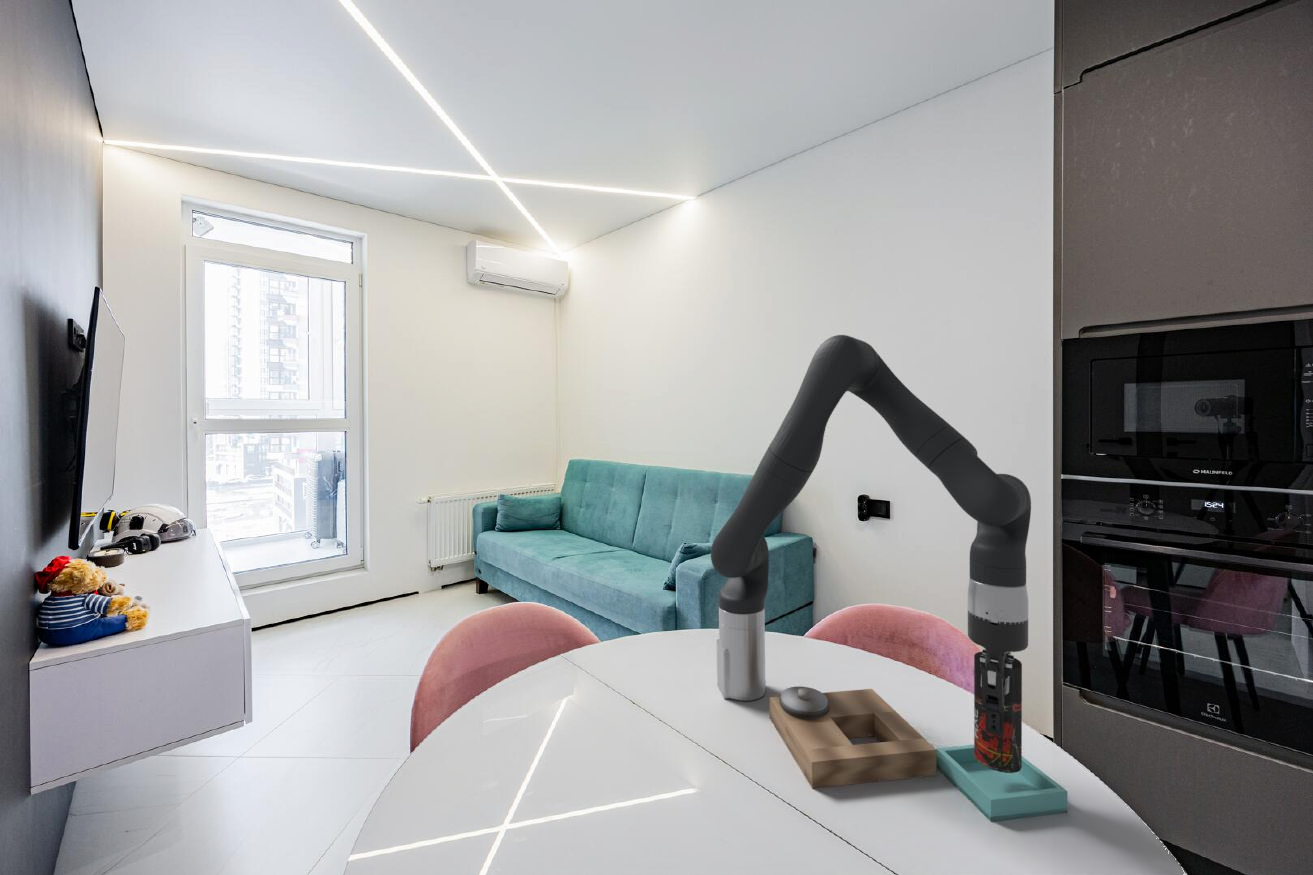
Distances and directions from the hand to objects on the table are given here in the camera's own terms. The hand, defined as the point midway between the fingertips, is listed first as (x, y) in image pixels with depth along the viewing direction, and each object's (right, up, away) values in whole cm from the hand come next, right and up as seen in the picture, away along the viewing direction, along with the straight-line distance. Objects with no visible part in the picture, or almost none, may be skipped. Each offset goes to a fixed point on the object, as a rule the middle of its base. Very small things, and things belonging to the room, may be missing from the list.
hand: (997, 722), depth 79 cm
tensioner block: (-18, -10, +12) cm, 24 cm away
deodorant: (0, -6, 0) cm, 6 cm away
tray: (0, -10, 0) cm, 10 cm away
